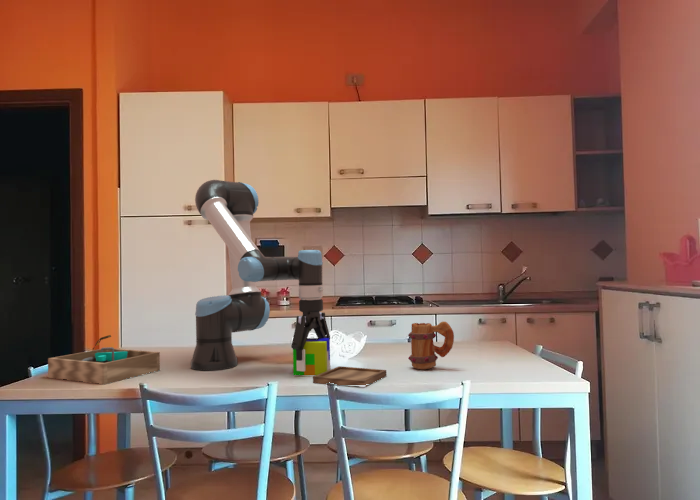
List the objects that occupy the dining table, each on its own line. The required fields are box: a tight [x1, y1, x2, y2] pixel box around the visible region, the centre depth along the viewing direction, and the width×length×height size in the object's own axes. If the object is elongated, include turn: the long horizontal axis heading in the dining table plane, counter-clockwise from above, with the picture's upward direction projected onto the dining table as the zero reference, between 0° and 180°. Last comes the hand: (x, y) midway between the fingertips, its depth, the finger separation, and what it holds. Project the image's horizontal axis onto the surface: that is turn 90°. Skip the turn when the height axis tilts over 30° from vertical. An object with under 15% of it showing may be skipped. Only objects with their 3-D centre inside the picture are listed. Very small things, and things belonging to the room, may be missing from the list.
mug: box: [407, 320, 455, 370], centre depth 170 cm, size 15×8×15 cm, turn 68°
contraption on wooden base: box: [81, 334, 128, 363], centre depth 172 cm, size 14×18×15 cm
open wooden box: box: [47, 348, 161, 385], centre depth 172 cm, size 25×21×6 cm
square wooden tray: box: [312, 366, 387, 386], centre depth 157 cm, size 16×16×2 cm
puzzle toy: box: [292, 337, 331, 375], centre depth 169 cm, size 10×10×10 cm
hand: (312, 367), depth 169 cm, fingers open, 12 cm apart
